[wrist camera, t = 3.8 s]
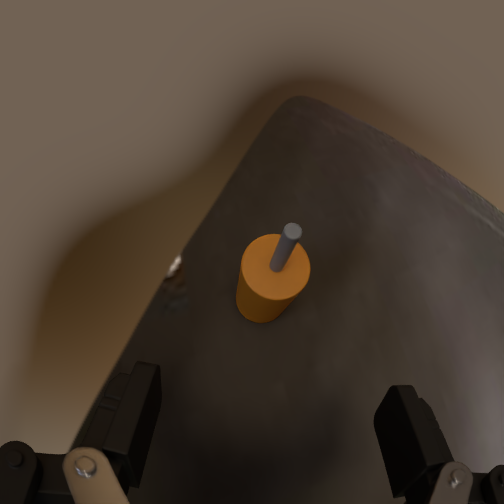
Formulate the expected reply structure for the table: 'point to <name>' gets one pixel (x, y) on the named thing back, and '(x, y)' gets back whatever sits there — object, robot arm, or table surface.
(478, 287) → the table surface
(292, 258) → the screwdriver
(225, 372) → the table surface
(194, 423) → the table surface
